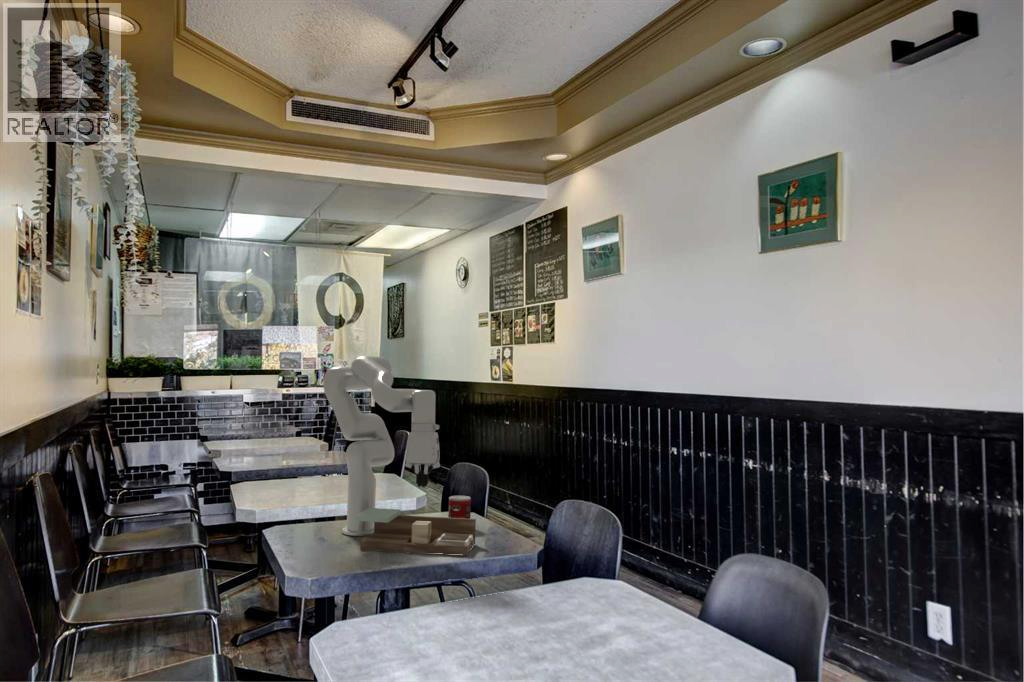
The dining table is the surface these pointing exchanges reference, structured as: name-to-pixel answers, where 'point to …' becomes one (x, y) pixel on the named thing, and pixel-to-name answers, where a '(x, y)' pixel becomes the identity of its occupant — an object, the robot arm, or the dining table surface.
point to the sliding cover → (377, 515)
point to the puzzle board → (398, 537)
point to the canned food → (459, 507)
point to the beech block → (421, 532)
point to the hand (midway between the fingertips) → (422, 486)
